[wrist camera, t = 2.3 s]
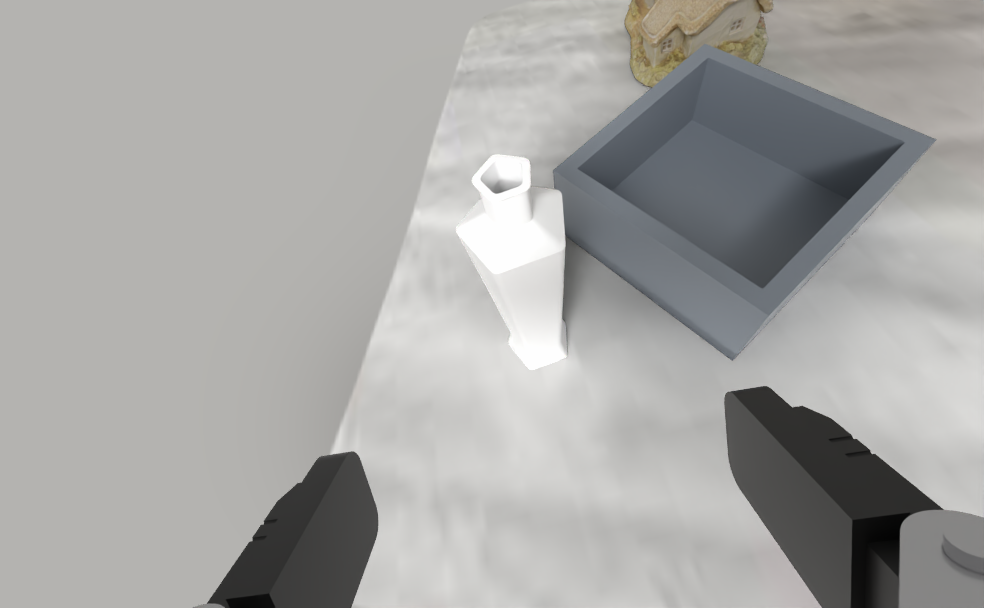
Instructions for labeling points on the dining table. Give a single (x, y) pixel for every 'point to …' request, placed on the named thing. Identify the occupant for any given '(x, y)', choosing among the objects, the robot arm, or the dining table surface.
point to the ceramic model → (692, 32)
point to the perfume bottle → (520, 256)
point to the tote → (729, 190)
